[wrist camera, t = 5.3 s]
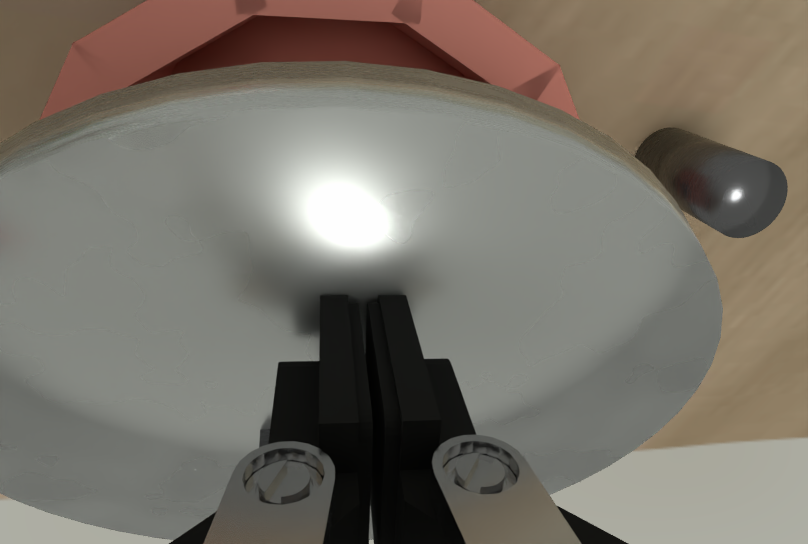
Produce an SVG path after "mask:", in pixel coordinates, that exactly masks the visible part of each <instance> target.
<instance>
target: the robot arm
mask: <svg viewBox="0 0 808 544" xmlns="http://www.w3.org/2000/svg"><path fill="white" fill-rule="evenodd" d="M370 506H371V517H372V527H373V538H374V544H628V543H626V542H624V541H622V540H620V539H618V538H617V537H615V536H613V535H611V534H609V533H607V532H605V531H603V530H601V529H600V528H598V527H596V526H594V525H592V524H590V523H588V522H587V521H585V520H583V519H581V518H579V517H577V516H575V515H573V514H572V513H570V512H568V511H566V510H564V509H562V508H560V507H558V506H556V505H555V503H554V502H553V500H552V498H551V497H550V495H549V494H548V492H547V491H546V489H545V488H544V486H543V485H542V483H541V482H540V480H539V479H538V477H537V476H536V474H535V473H534V471H533V470H532V468H531V467H530V465H529V464H528V462H527V461H526V459H525V458H524V457H523V456H522V455H521V454H520V453H519V451H518V450H517V449H515V448H513V447H512V446H510V445H509V444H507V443H506V442H503V441H501V440H498V439H496V438H493V437H488V436H483V435H476V432H475V429H474V426H473V423H472V421H471V418H470V415H469V412H468V409H467V407H466V404H465V401H464V398H463V395H462V392H461V390H460V387H459V384H458V381H457V378H456V376H455V373H454V370H453V367H452V364H451V362H450V360H449V359H447V358H442V359H424V356H423V353H422V349H421V346H420V342H419V339H418V335H417V332H416V328H415V325H414V321H413V318H412V314H411V311H410V307H409V304H408V300H407V297H406V295H378V298H377V303H367V315H366V346H365V349H364V341H363V333H362V324H361V316H360V308H359V303H348V295H339V296H320V347H319V361H287V362H279V363H278V368H277V376H276V385H275V393H274V401H273V409H272V417H271V425H270V433H269V441H268V445H264V446H262V447H260V448H258V449H256V450H253V451H251V452H250V453H249V454H247V455H246V456H245V457H244V458H243V459H241V460H240V461H239V463H238V464H237V466H236V467H235V469H234V471H233V473H232V475H231V477H230V480H229V482H228V485H227V487H226V490H225V492H224V495H223V497H222V499H221V502H220V504H219V507H218V509H217V511H216V512H215V513H213V514H212V515H210V516H209V517H207V518H206V519H204V520H203V521H202V522H200V523H199V524H197V525H196V526H194V527H193V528H191V529H190V530H188V531H187V532H185V533H184V534H182V535H181V536H179V537H178V538H176V539H175V540H174V541H173V542H171V543H169V544H369V523H370Z"/></svg>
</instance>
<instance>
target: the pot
mask: <svg viewBox="0 0 808 544" xmlns="http://www.w3.org/2000/svg"><path fill="white" fill-rule="evenodd" d="M310 61H351V62H360V63H370V64H379V65H389V66H399V67H408V68H418V69H427V70H431V71H435V72H440V73H444V74H448V75H453V76H457V77H461V78H466V79H470V80H474V81H479V82H483V83H487V84H492V85H496V86H500V87H502V88H505V89H508V90H510V91H513V92H516V93H518V94H521V95H524V96H526V97H529V98H531V99H534V100H537V101H539V102H542V103H545V104H547V105H550V106H553V107H555V108H558V109H561V110H563V111H564V112H566V113H568V114H570V115H571V116H573V117H575V118H577V119H579V117H578V114H577V112H576V109H575V106H574V104H573V101H572V98H571V95H570V93H569V90H568V87H567V84H566V82H565V79H564V76H563V73H562V71H561V68H560V65H559V64H557V63H556V62H554V61H553V60H552V59H550V58H549V57H548V56H546V55H545V54H544V53H542V52H541V51H540V50H538V49H537V48H536V47H534V46H533V45H532V44H530V43H529V42H528V41H527V40H525V39H524V38H523V37H521V36H520V35H519V34H517V33H516V32H515V31H513V30H512V29H511V28H509V27H508V26H507V25H505V24H504V23H503V22H501V21H500V20H499V19H497V18H496V17H495V16H493V15H492V14H491V13H489V12H488V11H487V10H485V9H484V8H483V7H481V6H480V5H479V4H477V3H476V2H475V1H473V0H147V1H145V2H143V3H141V4H140V5H138V6H136V7H134V8H133V9H131V10H129V11H128V12H126V13H124V14H122V15H121V16H119V17H117V18H116V19H114V20H112V21H110V22H109V23H107V24H105V25H104V26H102V27H100V28H98V29H97V30H95V31H93V32H92V33H90V34H88V35H86V36H85V37H83V38H81V39H79V40H78V41H76V42H73V44H72V46H71V49H70V51H69V53H68V56H67V58H66V60H65V62H64V65H63V67H62V69H61V72H60V74H59V76H58V79H57V81H56V83H55V85H54V88H53V90H52V92H51V95H50V97H49V99H48V101H47V104H46V106H45V108H44V111H43V113H42V115H41V118H40V120H41V119H43V118H46V117H48V116H50V115H53V114H55V113H57V112H60V111H62V110H65V109H67V108H69V107H72V106H74V105H76V104H79V103H81V102H84V101H86V100H88V99H91V98H93V97H95V96H98V95H100V94H103V93H107V92H111V91H114V90H118V89H122V88H126V87H129V86H133V85H137V84H141V83H144V82H148V81H152V80H156V79H160V78H163V77H167V76H171V75H175V74H178V73H186V72H193V71H200V70H208V69H215V68H223V67H230V66H237V65H245V64H252V63H259V62H310Z"/></svg>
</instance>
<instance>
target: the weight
mask: <svg viewBox="0 0 808 544" xmlns="http://www.w3.org/2000/svg"><path fill="white" fill-rule="evenodd" d="M635 158H637V159H638V160H639V161H640V162H642V163H643V164H644V165H645V166H646V167H648V168H649V169H650V170H651V171H652V172H653V174H654V175H655V176H656V177H657V179H658V180H659V181H660V182H661V183H662V185H663V186H664V187H665V188H666V190H667V191H668V192H669V193H670V194H671V196H672V197H673V198H674V199H675V201H676V202H677V204H678V205H679V207H680V209H681V210H683V211H684V212H686V213H688V214H690V215H691V216H693V217H695V218H696V219H698V220H700V221H702V222H703V223H705V224H707V225H709V226H710V227H712V228H714V229H715V230H717V231H719V232H721V233H722V234H724V235H726V236H729V237H733V238H744V237H748V236H751V235H754V234H756V233H758V232H760V231H762V230H763V229H765V228H766V227H767V226H769V225H770V224H771V223H772V222H773V221H774V220H775V218H776V217H777V216H778V214H779V213H780V211H781V210H782V208H783V206H784V203H785V200H786V197H787V180H786V177H785V175H784V173H783V171H782V170H781V169H780V168H779V167H778V166H777V165H776V164H774V163H772V162H769V161H767V160H764V159H761V158H758V157H756V156H753V155H750V154H747V153H745V152H742V151H739V150H736V149H734V148H731V147H728V146H725V145H723V144H720V143H717V142H714V141H712V140H709V139H706V138H703V137H701V136H698V135H695V134H692V133H690V132H687V131H684V130H682V129H678V128H664V129H661V130H659V131H656V132H655V133H653V134H651V135H650V136H649V137H648V138H647V139H646V140H645V141H644V142H643V143H642V144H641V146H640V147H639V149H638V151H637V153H636V156H635Z"/></svg>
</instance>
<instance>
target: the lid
mask: <svg viewBox="0 0 808 544" xmlns="http://www.w3.org/2000/svg"><path fill="white" fill-rule="evenodd" d="M339 295H348V303H359V308H360V316H361V324H362V333H363V341H364V349H365V346H366V315H367V303H377V298H378V295H406V297H407V300H408V304H409V307H410V311H411V314H412V318H413V321H414V325H415V328H416V332H417V335H418V339H419V342H420V346H421V349H422V353H423V356H424V359H442V358H447V359H449V360H450V362H451V364H452V367H453V370H454V373H455V376H456V378H457V381H458V384H459V387H460V390H461V392H462V395H463V398H464V401H465V404H466V407H467V409H468V412H469V415H470V418H471V421H472V423H473V426H474V429H475V432H476V435H483V436H488V437H493V438H496V439H498V440H501V441H503V442H506V443H507V444H509V445H510V446H512V447H513V448H515V449H517V450H518V451H519V453H520V454H521V455H522V456H523V457H524V458H525V459H526V461H527V462H528V464H529V465H530V467H531V468H532V470H533V471H534V473H535V474H536V476H537V477H538V479H539V480H540V482H541V483H542V485H543V486H544V488H545V489H546V491H547V492H548V494H549V495H550V494H553V493H555V492H557V491H560V490H562V489H564V488H566V487H569V486H571V485H573V484H575V483H577V482H580V481H581V480H583V479H585V478H587V477H589V476H591V475H593V474H595V473H597V472H599V471H601V470H602V469H604V468H606V467H608V466H610V465H611V464H612V463H614V462H616V461H618V460H619V459H621V458H622V457H624V456H625V455H627V454H629V453H630V452H632V451H633V450H635V449H636V448H637V447H639V446H640V445H641V444H643V443H644V442H645V441H647V440H648V439H649V438H650V437H652V436H653V435H654V434H656V433H657V432H658V431H659V430H660V429H661V428H662V427H663V426H665V425H666V424H667V423H668V422H669V421H670V420H671V419H672V418H673V417H674V416H675V415H676V414H677V413H678V412H679V411H680V410H681V409H682V407H683V406H684V405H685V404H686V403H687V401H688V400H689V399H690V398H691V396H692V395H693V394H694V393H695V391H696V390H697V389H698V387H699V385H700V384H701V382H702V380H703V378H704V377H705V375H706V373H707V371H708V370H709V368H710V366H711V364H712V361H713V358H714V355H715V352H716V349H717V346H718V343H719V340H720V336H721V324H722V312H723V307H722V302H721V297H720V291H719V286H718V281H717V277H716V275H715V273H714V271H713V269H712V267H711V265H710V263H709V261H708V259H707V257H706V255H705V253H704V251H703V248H702V246H701V245H700V243H699V241H698V239H697V238H696V236H695V234H694V232H693V230H692V229H691V227H690V225H689V223H688V221H687V220H686V218H685V216H684V214H683V213H682V211H681V209H680V207H679V205H678V204H677V202H676V201H675V199H674V198H673V197H672V196H671V194H670V193H669V192H668V191H667V190H666V188H665V187H664V186H663V185H662V183H661V182H660V181H659V180H658V179H657V177H656V176H655V175H654V174H653V172H652V171H651V170H650V169H649V168H648V167H646V166H645V165H644V164H643V163H642V162H640V161H639V160H638V159H637V158H635V157H634V156H633V155H632V154H631V153H629V152H628V151H627V150H626V149H624V148H623V147H622V146H621V145H620V144H618V143H617V142H616V141H615V140H613V139H612V138H611V137H609V136H607V135H605V134H604V133H602V132H600V131H598V130H596V129H595V128H593V127H591V126H589V125H587V124H586V123H584V122H582V121H580V120H579V119H577V118H575V117H573V116H571V115H570V114H568V113H566V112H564V111H563V110H561V109H558V108H555V107H553V106H550V105H547V104H545V103H542V102H539V101H537V100H534V99H531V98H529V97H526V96H524V95H521V94H518V93H516V92H513V91H510V90H508V89H505V88H502V87H500V86H496V85H492V84H487V83H483V82H479V81H474V80H470V79H466V78H461V77H457V76H453V75H448V74H444V73H440V72H435V71H431V70H427V69H418V68H408V67H399V66H389V65H379V64H370V63H360V62H351V61H310V62H259V63H252V64H245V65H237V66H230V67H223V68H215V69H208V70H200V71H193V72H186V73H178V74H175V75H171V76H167V77H163V78H160V79H156V80H152V81H148V82H144V83H141V84H137V85H133V86H129V87H126V88H122V89H118V90H114V91H111V92H107V93H103V94H100V95H98V96H95V97H93V98H91V99H88V100H86V101H84V102H81V103H79V104H76V105H74V106H72V107H69V108H67V109H65V110H62V111H60V112H57V113H55V114H53V115H50V116H48V117H46V118H43V119H41V120H38V121H36V122H34V123H32V124H31V125H29V126H27V127H26V128H24V129H23V130H21V131H19V132H18V133H16V134H15V135H13V136H11V137H10V138H8V139H7V140H5V141H3V142H2V143H0V493H1V494H3V495H5V496H7V497H9V498H11V499H13V500H16V501H19V502H22V503H24V504H27V505H29V506H32V507H35V508H37V509H40V510H43V511H45V512H48V513H51V514H55V515H58V516H61V517H65V518H68V519H71V520H75V521H78V522H82V523H85V524H90V525H94V526H98V527H103V528H107V529H111V530H116V531H120V532H126V533H132V534H137V535H143V536H149V537H154V538H162V539H170V540H175V539H176V538H178V537H179V536H181V535H182V534H184V533H185V532H187V531H188V530H190V529H191V528H193V527H194V526H196V525H197V524H199V523H200V522H202V521H203V520H204V519H206V518H207V517H209V516H210V515H212V514H213V513H215V512H216V511H217V509H218V507H219V504H220V502H221V499H222V497H223V495H224V492H225V490H226V487H227V485H228V482H229V480H230V477H231V475H232V473H233V471H234V469H235V467H236V466H237V464H238V463H239V461H240V460H241V459H243V458H244V457H245V456H246V455H247V454H249V453H250V452H251V451H253V450H256V449H258V448H260V447H262V446H264V445H268V441H269V433H270V425H271V417H272V409H273V401H274V393H275V385H276V376H277V368H278V363H279V362H287V361H319V347H320V296H339ZM372 539H374V538H373V527H372V517H371V506H370V523H369V540H372Z"/></svg>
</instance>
